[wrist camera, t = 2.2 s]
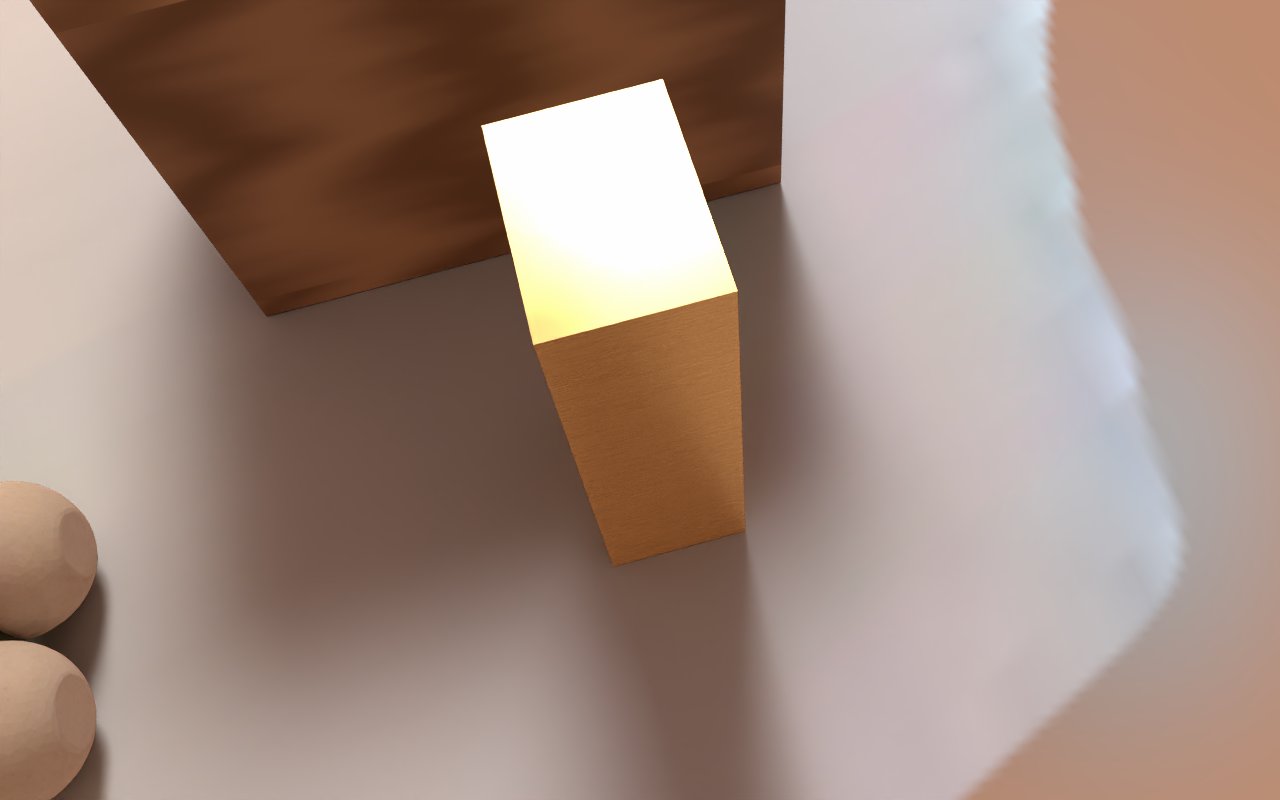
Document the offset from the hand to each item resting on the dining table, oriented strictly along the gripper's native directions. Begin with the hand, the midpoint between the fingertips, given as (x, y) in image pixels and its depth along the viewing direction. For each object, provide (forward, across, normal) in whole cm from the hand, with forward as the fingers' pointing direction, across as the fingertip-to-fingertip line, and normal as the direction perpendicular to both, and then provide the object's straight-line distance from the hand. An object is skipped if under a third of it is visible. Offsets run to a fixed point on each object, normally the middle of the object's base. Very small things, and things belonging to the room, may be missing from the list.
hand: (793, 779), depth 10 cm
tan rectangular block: (+18, 0, -3) cm, 19 cm away
